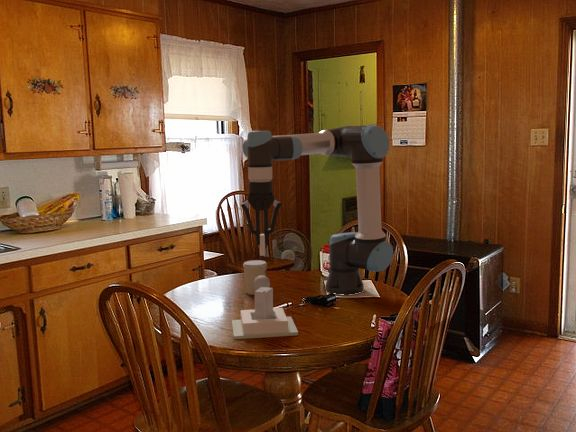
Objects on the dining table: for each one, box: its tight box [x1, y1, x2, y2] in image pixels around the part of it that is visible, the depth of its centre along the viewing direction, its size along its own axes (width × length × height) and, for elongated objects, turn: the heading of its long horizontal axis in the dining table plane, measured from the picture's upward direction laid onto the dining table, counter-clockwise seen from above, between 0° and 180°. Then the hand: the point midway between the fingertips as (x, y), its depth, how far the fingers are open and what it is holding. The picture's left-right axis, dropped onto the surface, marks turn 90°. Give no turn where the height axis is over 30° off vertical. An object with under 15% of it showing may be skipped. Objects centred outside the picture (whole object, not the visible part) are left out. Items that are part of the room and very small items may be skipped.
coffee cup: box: [242, 259, 268, 296], centre depth 233 cm, size 9×9×12 cm
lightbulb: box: [253, 275, 271, 291], centre depth 215 cm, size 6×6×11 cm
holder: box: [231, 307, 299, 340], centre depth 189 cm, size 20×16×4 cm
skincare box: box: [254, 287, 274, 320], centre depth 188 cm, size 6×4×12 cm
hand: (262, 254), depth 186 cm, fingers closed
